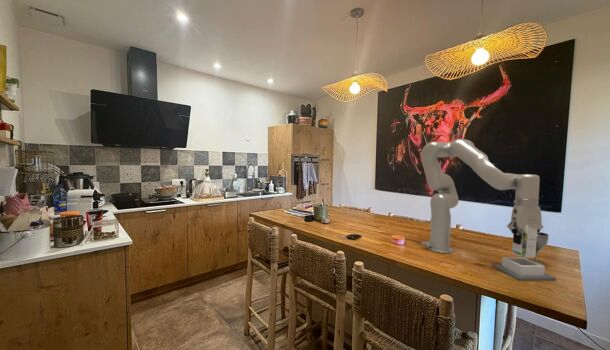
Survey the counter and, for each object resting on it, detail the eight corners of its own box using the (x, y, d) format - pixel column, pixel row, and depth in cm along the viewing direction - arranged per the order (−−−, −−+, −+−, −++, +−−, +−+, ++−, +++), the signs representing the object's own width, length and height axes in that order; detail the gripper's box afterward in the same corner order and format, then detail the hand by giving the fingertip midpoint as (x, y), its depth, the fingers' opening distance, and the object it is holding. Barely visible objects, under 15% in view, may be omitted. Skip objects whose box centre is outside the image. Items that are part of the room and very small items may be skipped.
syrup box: (511, 253, 111) (513, 221, 110) (523, 253, 112) (525, 221, 111) (523, 258, 105) (525, 224, 105) (536, 257, 106) (538, 224, 105)
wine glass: (548, 268, 114) (550, 236, 113) (525, 264, 118) (527, 233, 118) (543, 262, 121) (545, 232, 120) (522, 259, 125) (524, 229, 124)
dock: (518, 280, 102) (519, 268, 101) (491, 266, 116) (492, 255, 115) (555, 280, 102) (556, 268, 102) (524, 266, 116) (525, 255, 116)
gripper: (514, 204, 103) (512, 246, 104) (554, 204, 104) (551, 246, 105) (500, 201, 111) (498, 240, 112) (537, 201, 111) (534, 240, 112)
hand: (524, 243), depth 108 cm, fingers closed on syrup box, 5 cm apart
